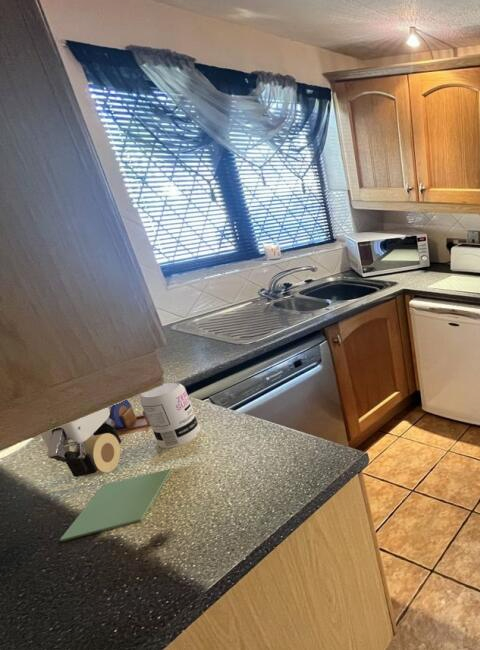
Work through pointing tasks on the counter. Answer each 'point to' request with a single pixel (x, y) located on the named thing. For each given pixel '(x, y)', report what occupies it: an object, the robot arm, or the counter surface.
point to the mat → (117, 505)
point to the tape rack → (133, 422)
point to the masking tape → (103, 452)
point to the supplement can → (170, 414)
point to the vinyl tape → (119, 413)
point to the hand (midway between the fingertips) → (99, 458)
